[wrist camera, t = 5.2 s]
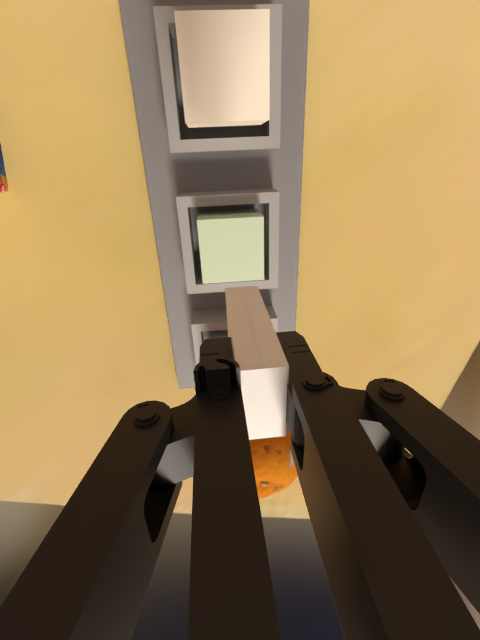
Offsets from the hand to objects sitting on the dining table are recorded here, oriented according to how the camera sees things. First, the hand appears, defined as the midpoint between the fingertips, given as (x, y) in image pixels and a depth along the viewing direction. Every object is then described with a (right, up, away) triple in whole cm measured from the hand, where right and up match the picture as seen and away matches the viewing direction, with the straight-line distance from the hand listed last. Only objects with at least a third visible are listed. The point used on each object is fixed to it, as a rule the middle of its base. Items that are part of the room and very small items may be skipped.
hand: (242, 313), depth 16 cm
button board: (-1, +8, +15) cm, 17 cm away
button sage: (-1, +7, +13) cm, 15 cm away
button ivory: (-1, +15, +6) cm, 17 cm away
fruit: (+2, -14, +27) cm, 31 cm away
